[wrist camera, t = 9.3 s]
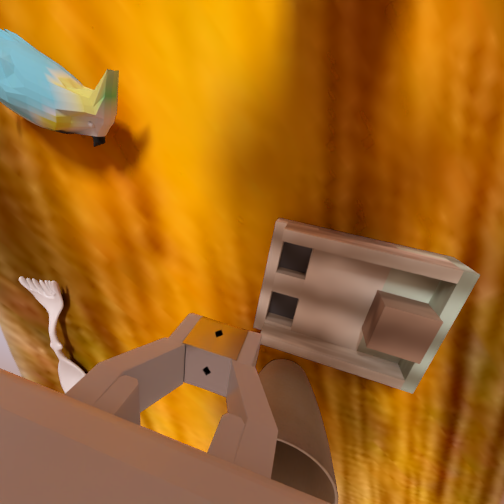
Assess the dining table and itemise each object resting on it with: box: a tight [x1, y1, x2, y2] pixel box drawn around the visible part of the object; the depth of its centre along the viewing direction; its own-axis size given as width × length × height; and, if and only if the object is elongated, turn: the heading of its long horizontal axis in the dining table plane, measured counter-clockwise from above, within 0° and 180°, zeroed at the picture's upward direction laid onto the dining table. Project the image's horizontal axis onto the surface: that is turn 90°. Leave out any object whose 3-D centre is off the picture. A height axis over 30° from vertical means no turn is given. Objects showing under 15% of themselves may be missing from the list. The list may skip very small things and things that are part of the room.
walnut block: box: [362, 290, 443, 364], centre depth 30 cm, size 6×6×4 cm
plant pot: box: [258, 359, 338, 504], centre depth 35 cm, size 15×15×16 cm
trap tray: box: [253, 218, 480, 394], centre depth 33 cm, size 17×22×6 cm
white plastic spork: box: [19, 276, 86, 393], centre depth 53 cm, size 9×32×4 cm, turn 0°
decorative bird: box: [0, 29, 119, 146], centre depth 32 cm, size 14×30×9 cm, turn 57°
